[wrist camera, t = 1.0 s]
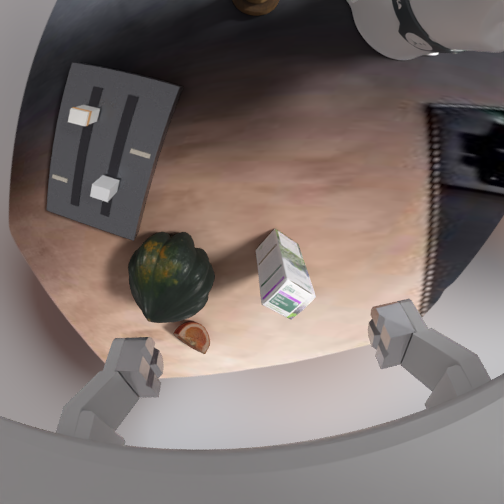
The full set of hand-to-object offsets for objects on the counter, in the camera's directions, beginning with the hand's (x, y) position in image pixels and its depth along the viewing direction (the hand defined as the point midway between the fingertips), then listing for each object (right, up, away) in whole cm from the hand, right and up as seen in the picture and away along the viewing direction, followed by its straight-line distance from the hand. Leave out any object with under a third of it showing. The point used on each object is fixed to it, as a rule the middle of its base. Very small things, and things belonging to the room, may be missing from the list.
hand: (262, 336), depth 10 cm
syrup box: (+4, +4, +43) cm, 43 cm away
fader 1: (-24, +23, +24) cm, 41 cm away
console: (-24, +19, +31) cm, 43 cm away
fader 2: (-22, +14, +31) cm, 40 cm away
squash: (-14, +2, +43) cm, 46 cm away
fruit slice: (-13, -14, +54) cm, 57 cm away
